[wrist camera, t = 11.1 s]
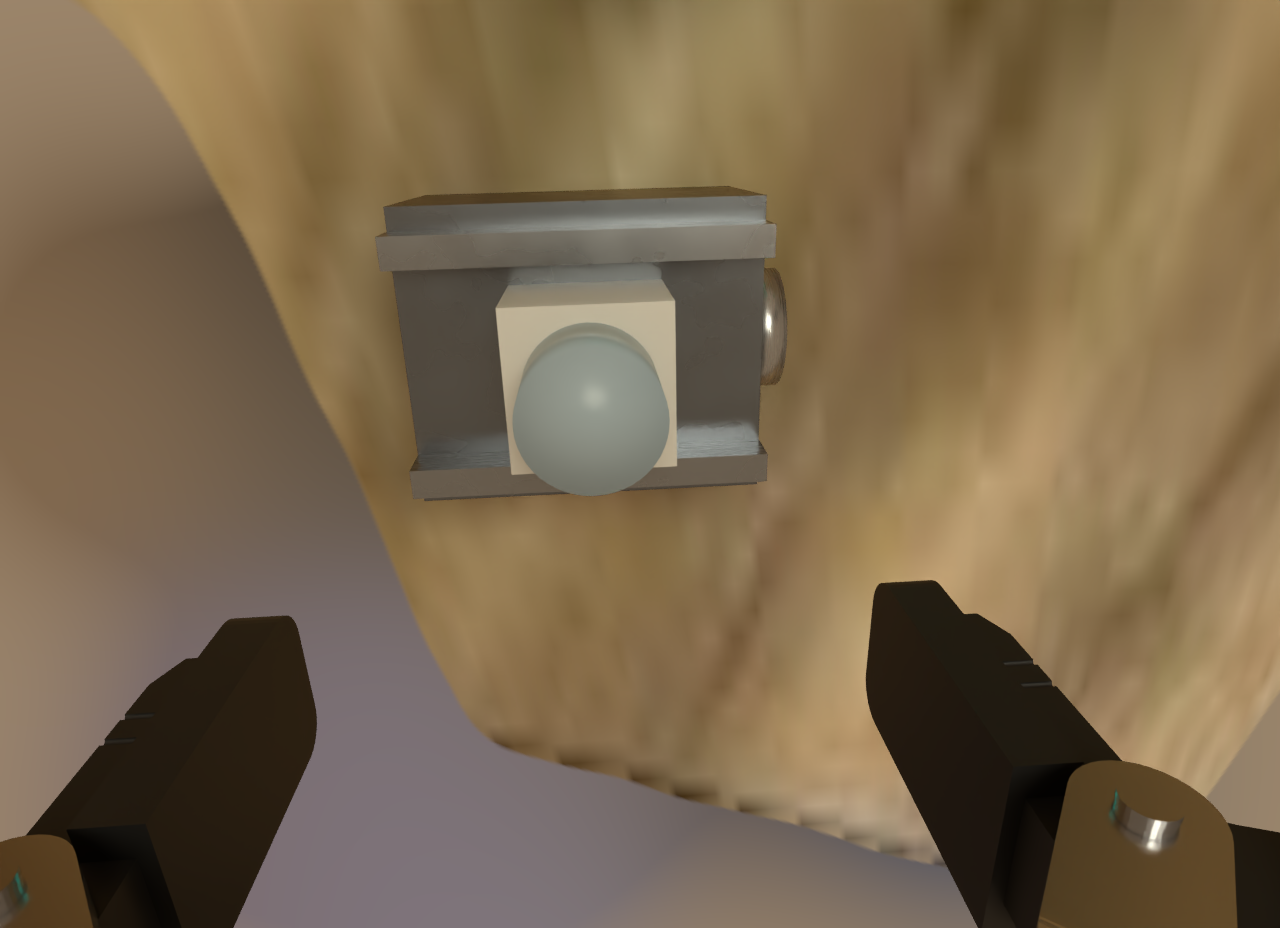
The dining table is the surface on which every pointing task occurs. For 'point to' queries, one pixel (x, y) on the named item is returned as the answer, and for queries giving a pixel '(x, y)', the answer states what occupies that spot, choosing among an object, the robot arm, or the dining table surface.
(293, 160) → the dining table surface
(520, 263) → the motor housing
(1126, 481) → the dining table surface
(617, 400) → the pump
